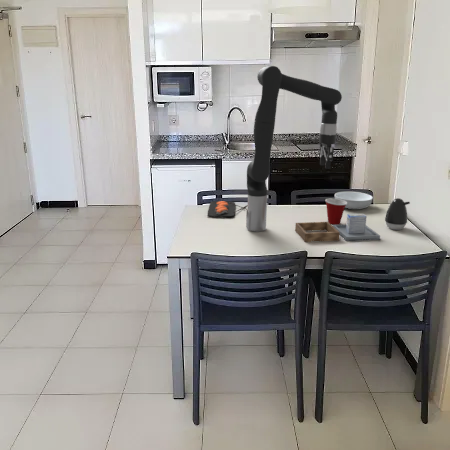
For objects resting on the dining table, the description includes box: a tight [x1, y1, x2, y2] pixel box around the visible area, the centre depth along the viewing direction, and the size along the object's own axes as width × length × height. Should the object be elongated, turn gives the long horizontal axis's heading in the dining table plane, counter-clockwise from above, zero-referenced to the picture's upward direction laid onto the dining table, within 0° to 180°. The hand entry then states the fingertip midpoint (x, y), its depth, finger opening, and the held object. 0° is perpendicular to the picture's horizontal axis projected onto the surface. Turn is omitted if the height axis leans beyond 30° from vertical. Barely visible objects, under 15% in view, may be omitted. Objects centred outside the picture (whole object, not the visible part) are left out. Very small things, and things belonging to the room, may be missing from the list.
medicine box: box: [346, 213, 368, 234], centre depth 217 cm, size 8×4×9 cm, turn 94°
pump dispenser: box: [384, 197, 411, 231], centre depth 225 cm, size 10×10×15 cm
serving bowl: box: [334, 191, 374, 210], centre depth 263 cm, size 21×21×7 cm
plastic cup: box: [325, 197, 347, 226], centre depth 233 cm, size 11×11×12 cm
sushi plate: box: [207, 200, 248, 218], centre depth 255 cm, size 29×30×4 cm
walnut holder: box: [294, 221, 340, 243], centre depth 216 cm, size 16×16×4 cm
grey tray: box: [332, 223, 381, 242], centre depth 219 cm, size 16×18×2 cm
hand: (324, 167), depth 223 cm, fingers open, 8 cm apart
